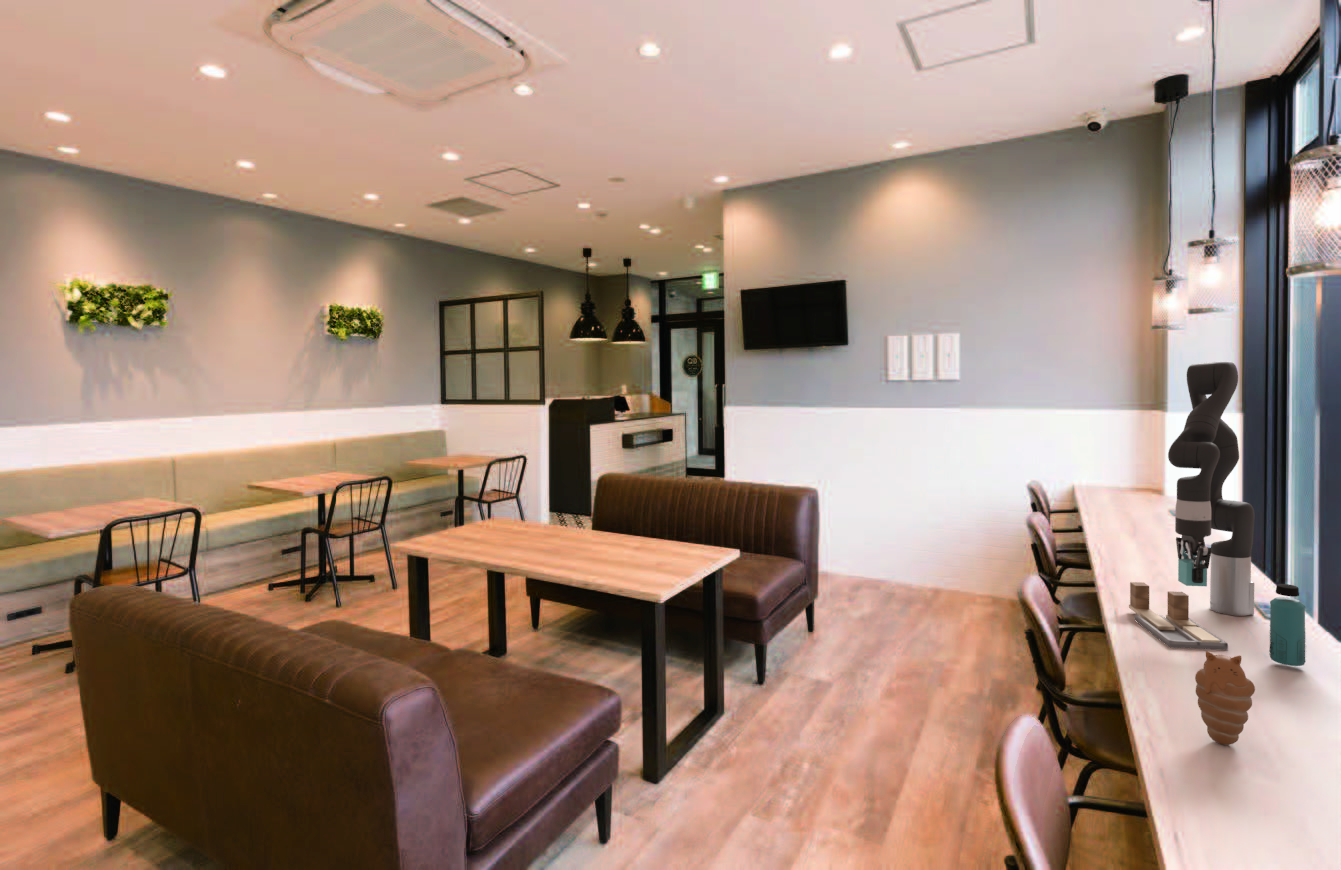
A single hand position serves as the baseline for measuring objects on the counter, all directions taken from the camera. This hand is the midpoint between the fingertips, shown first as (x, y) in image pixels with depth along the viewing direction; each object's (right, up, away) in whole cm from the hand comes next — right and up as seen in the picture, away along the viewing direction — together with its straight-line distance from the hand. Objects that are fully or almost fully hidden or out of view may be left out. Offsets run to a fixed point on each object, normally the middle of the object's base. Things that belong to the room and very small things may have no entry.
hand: (1192, 579), depth 178 cm
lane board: (0, -16, +5) cm, 17 cm away
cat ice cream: (-33, -21, -49) cm, 63 cm away
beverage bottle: (+9, -17, -17) cm, 26 cm away
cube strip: (-1, -14, +14) cm, 20 cm away
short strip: (+4, -14, +10) cm, 18 cm away
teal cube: (0, -1, 0) cm, 1 cm away
